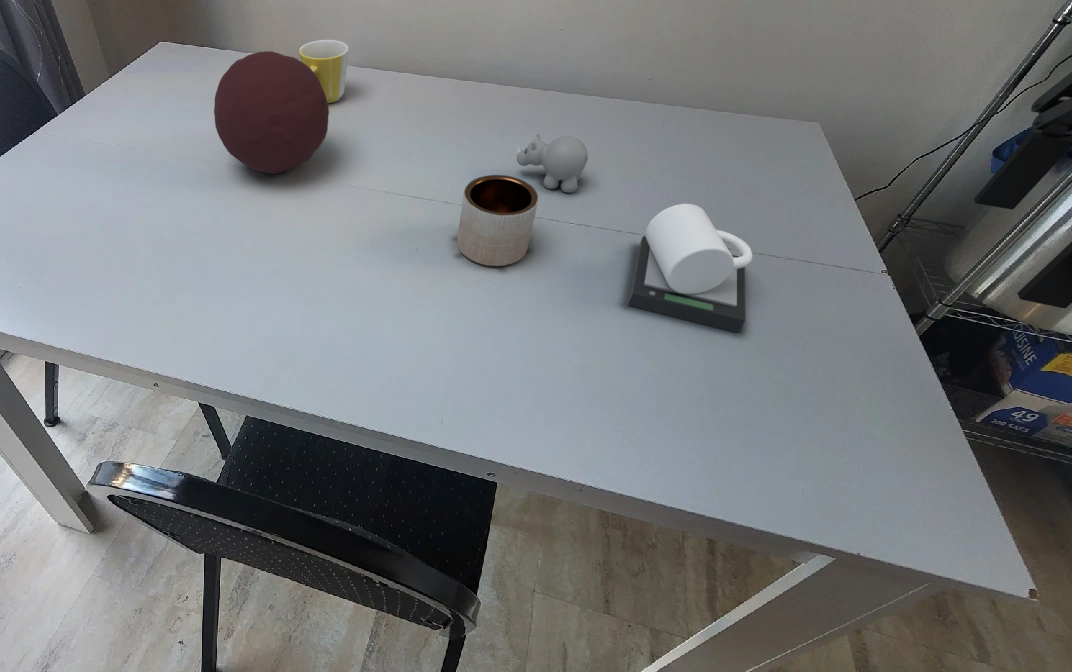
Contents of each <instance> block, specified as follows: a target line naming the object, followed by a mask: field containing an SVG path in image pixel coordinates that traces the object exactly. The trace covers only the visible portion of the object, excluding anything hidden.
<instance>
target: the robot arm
mask: <svg viewBox="0 0 1072 672" xmlns="http://www.w3.org/2000/svg"><path fill="white" fill-rule="evenodd" d="M1062 98H1068V99H1062ZM1030 111H1031V112H1032V113H1036V114H1037V113H1038V115H1036V117H1035V118H1034V120H1033V121H1032V124H1031V129H1032V131H1030V133H1029V134H1027V136H1026V137H1025V138H1024V139H1023V141H1022V142H1021V143H1020V144H1019V145H1018V146H1017V148H1016V149H1015V150H1014V151H1013V152H1012V154H1010V156H1009V157H1008V158H1007V159H1006V160H1005V162H1004V163H1003V164H1002V165H1001V167H999V168H998V170H997V171H996V172H995V173H994V175H992V177H991V178H990V179H989V180H988V182H987V183H985V185H984V186H983V187H982V189H980V191H978V193H977V194H976V195H975V197H974V198H973V201H974V203H975V204H977V205H983V206H990V207H993V208H994V207H995V208H1000V209H1006V210H1010V211H1011V210H1012V211H1013V210H1015V208H1016V207H1017V206H1018V205H1019V204H1020V203H1021V202H1022V201H1023V199H1025V198H1026V196H1028V194H1029V193H1030V192H1031V191H1032V190H1033V189H1034V188H1035V187H1036V186H1037V184H1039V183H1040V181H1041V180H1042V179H1044V177H1045V176H1046V175H1047V174H1048V173H1049V172H1050V170H1051V169H1052V168H1053V167H1054V166H1055V165H1056V164H1057V163H1058V162H1059V161H1060V160H1061V159H1062V157H1063V156H1065V154H1066V153H1067V152H1069V150H1070V149H1071V148H1072V137H1070V136H1065V134H1067V135H1072V71H1071V72H1069V73H1068V74H1067V75H1066V76H1064V77H1063V78H1062V79H1060V80H1059V81H1058V82H1056V83H1055V84H1054V85H1053V86H1051V87H1050V88H1049V89H1048V90H1047V91H1045V92H1044V93H1043V94H1042V95H1040V96H1039V97H1038V98H1037V99H1036V100H1034V101H1033V103H1032V104H1031V108H1030ZM1016 294H1017V296H1018V298H1019V300H1022V301H1026V302H1031V303H1035V304H1042V305H1044V306H1045V305H1046V306H1050V307H1055V308H1060V309H1064V310H1065V309H1067V308H1068V307H1069V306H1071V304H1072V241H1070V242H1069V243H1068V244H1067V245H1066V246H1065V247H1064V248H1063V249H1062V250H1061V251H1060V252H1059V253H1058V254H1057V255H1056V256H1055V257H1053V259H1051V260H1050V261H1049V262H1048V263H1047V264H1046V265H1045V266H1044V267H1043V268H1042V269H1041V270H1039V272H1038V273H1037V274H1035V275H1034V276H1033V277H1032V278H1031V279H1030V280H1029V281H1028V282H1027V283H1026V284H1025V285H1024V286H1023V287H1022V288H1021V289H1019V291H1018V292H1016Z"/></svg>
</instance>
